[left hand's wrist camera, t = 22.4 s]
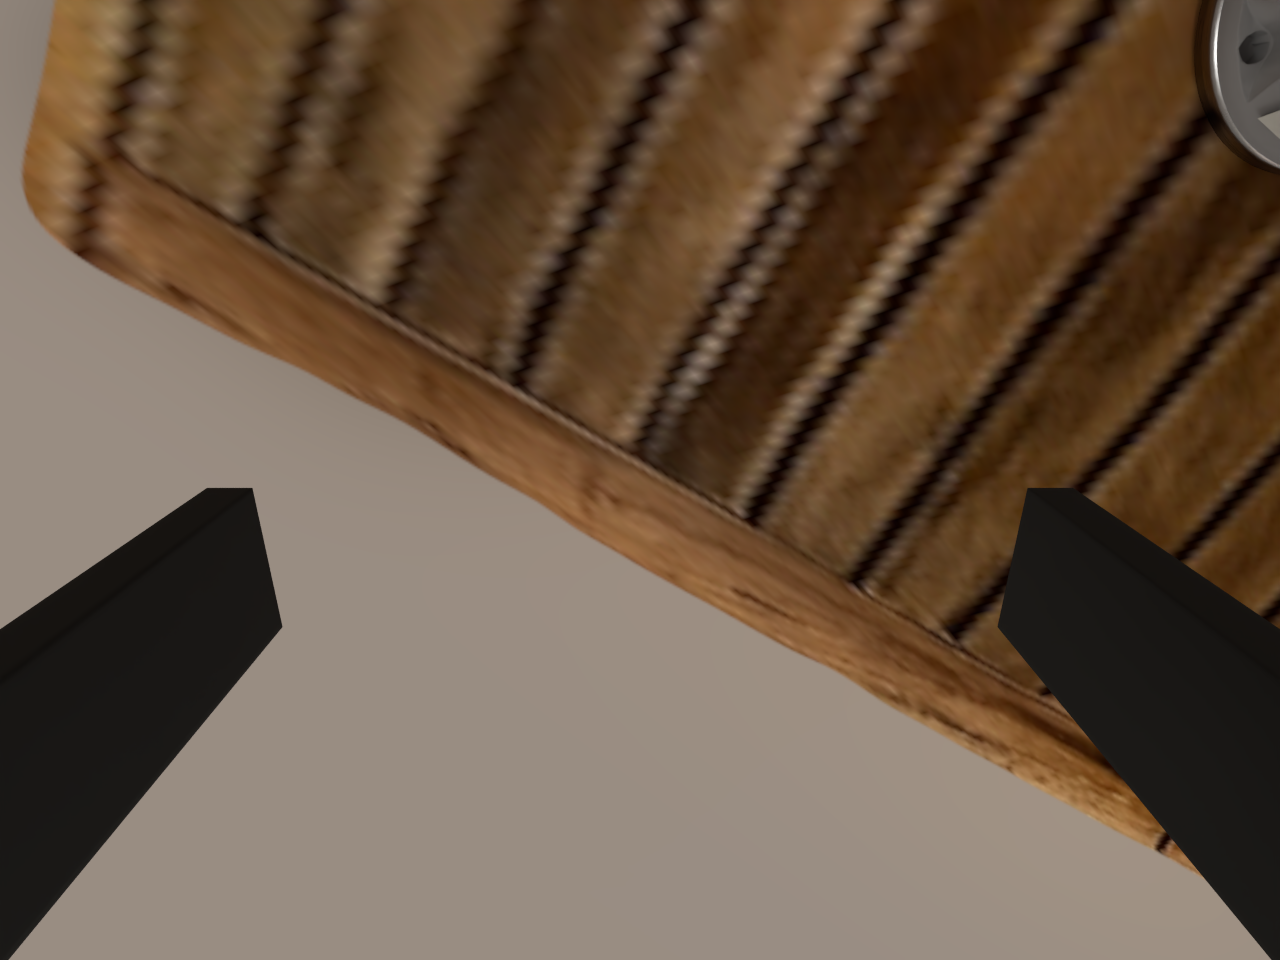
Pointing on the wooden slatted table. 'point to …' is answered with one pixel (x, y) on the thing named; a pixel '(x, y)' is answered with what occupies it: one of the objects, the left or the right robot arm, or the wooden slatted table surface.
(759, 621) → the wooden slatted table surface
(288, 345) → the wooden slatted table surface
